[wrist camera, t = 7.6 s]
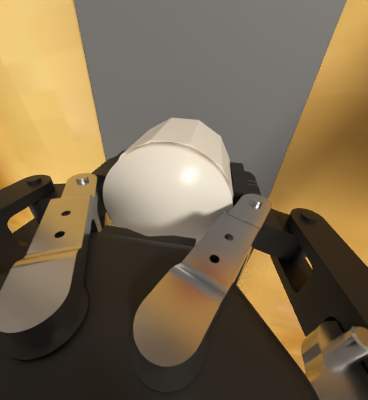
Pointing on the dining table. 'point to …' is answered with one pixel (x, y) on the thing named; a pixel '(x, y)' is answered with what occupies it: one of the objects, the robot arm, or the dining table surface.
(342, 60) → the dining table surface
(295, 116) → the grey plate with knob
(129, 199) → the white domed knob
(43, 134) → the dining table surface
